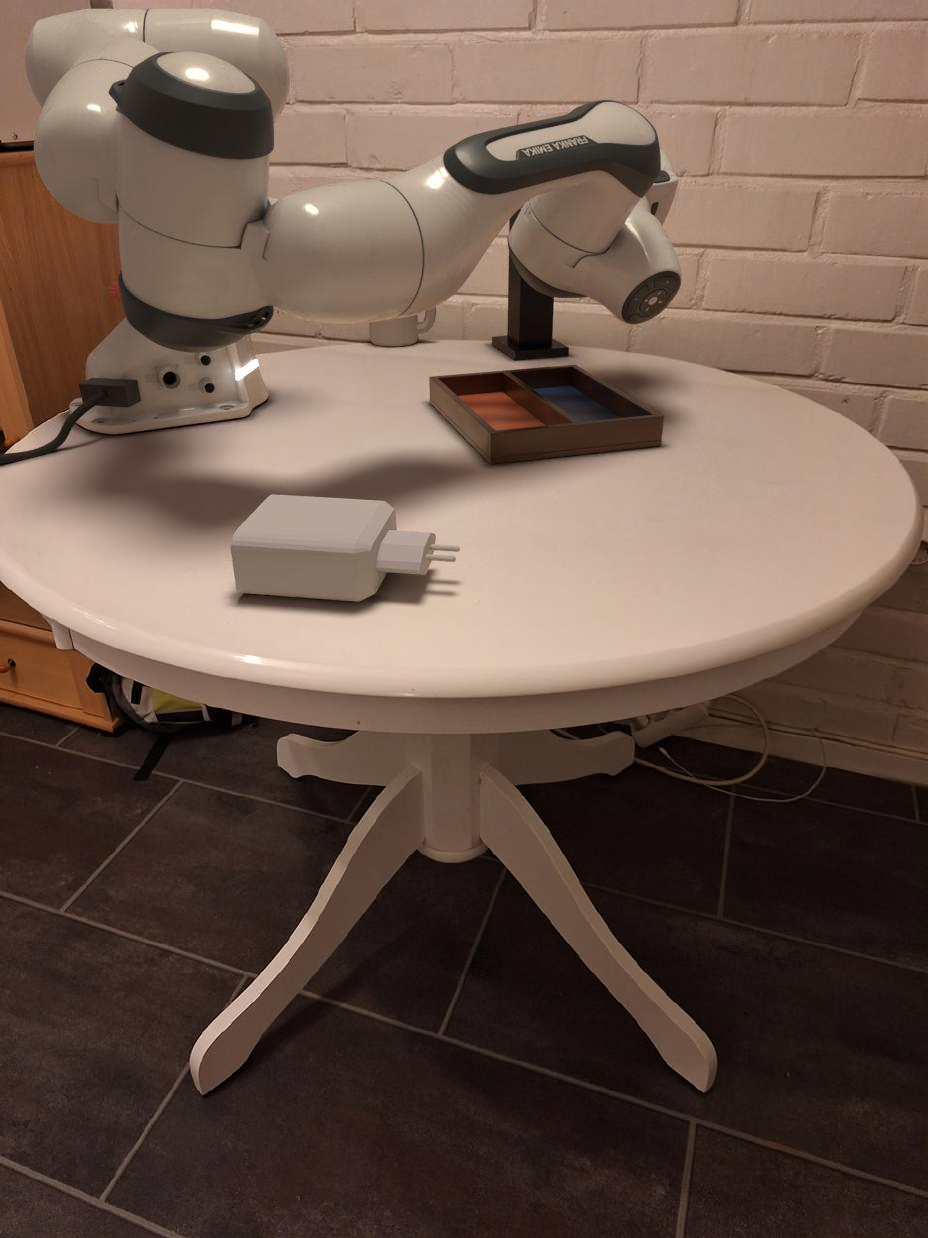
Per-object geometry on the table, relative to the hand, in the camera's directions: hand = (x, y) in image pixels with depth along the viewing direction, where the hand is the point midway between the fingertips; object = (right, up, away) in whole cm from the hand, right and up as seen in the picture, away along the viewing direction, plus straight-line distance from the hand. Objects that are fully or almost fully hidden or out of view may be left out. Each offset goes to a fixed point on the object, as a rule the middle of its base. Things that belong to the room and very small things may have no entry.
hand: (564, 134), depth 109 cm
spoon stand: (-3, -19, +22) cm, 29 cm away
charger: (-20, -55, -42) cm, 72 cm away
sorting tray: (-4, -36, -9) cm, 38 cm away
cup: (-21, -17, +27) cm, 38 cm away
